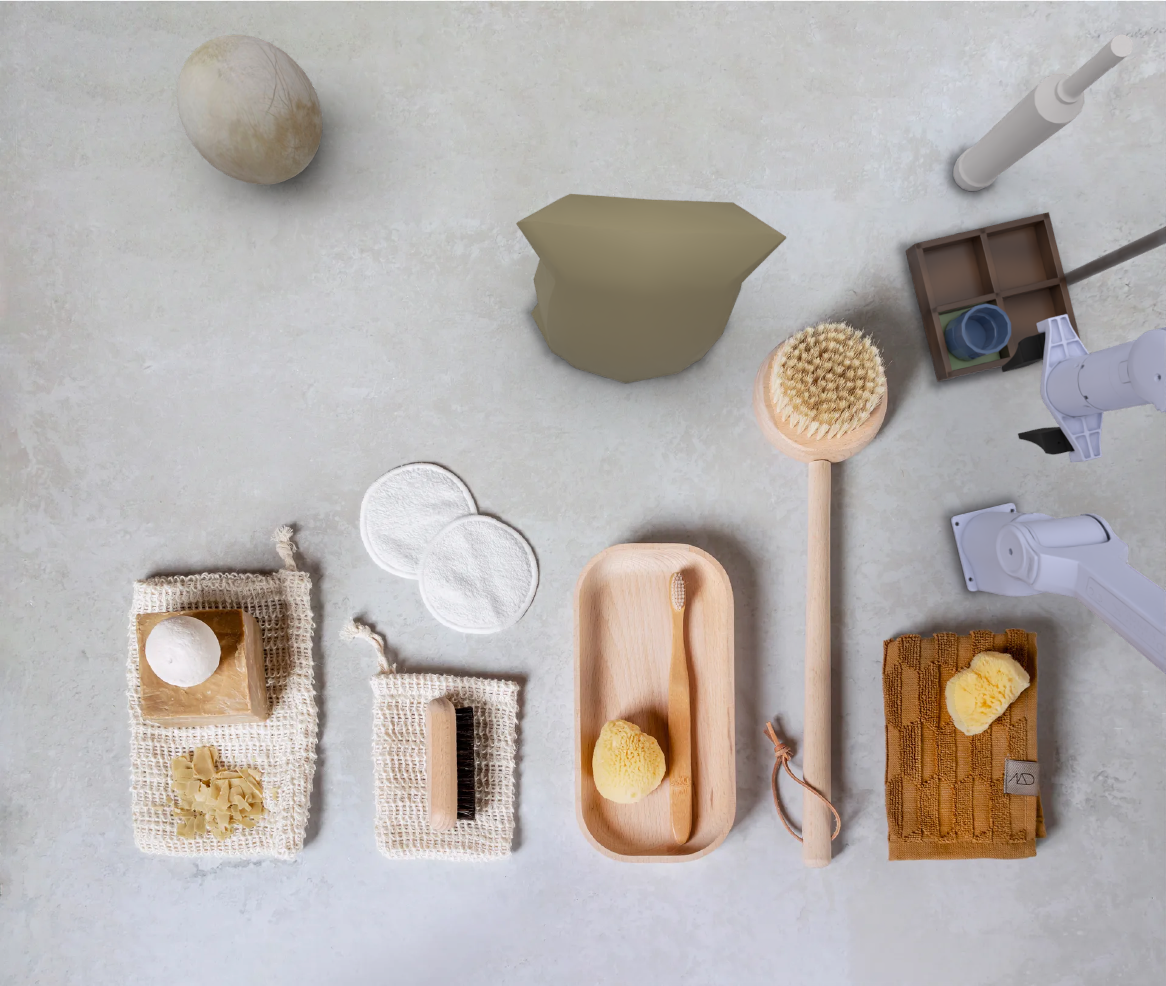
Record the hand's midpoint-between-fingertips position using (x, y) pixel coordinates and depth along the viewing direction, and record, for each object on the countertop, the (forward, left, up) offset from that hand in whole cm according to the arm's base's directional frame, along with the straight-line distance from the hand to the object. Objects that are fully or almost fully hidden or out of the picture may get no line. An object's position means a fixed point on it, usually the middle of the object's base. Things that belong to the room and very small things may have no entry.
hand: (1018, 400), depth 81 cm
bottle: (+29, -7, -10) cm, 31 cm away
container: (+21, +39, -10) cm, 45 cm away
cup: (+9, -1, -9) cm, 13 cm away
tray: (+13, -6, -9) cm, 17 cm away
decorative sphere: (+52, +76, -10) cm, 93 cm away
